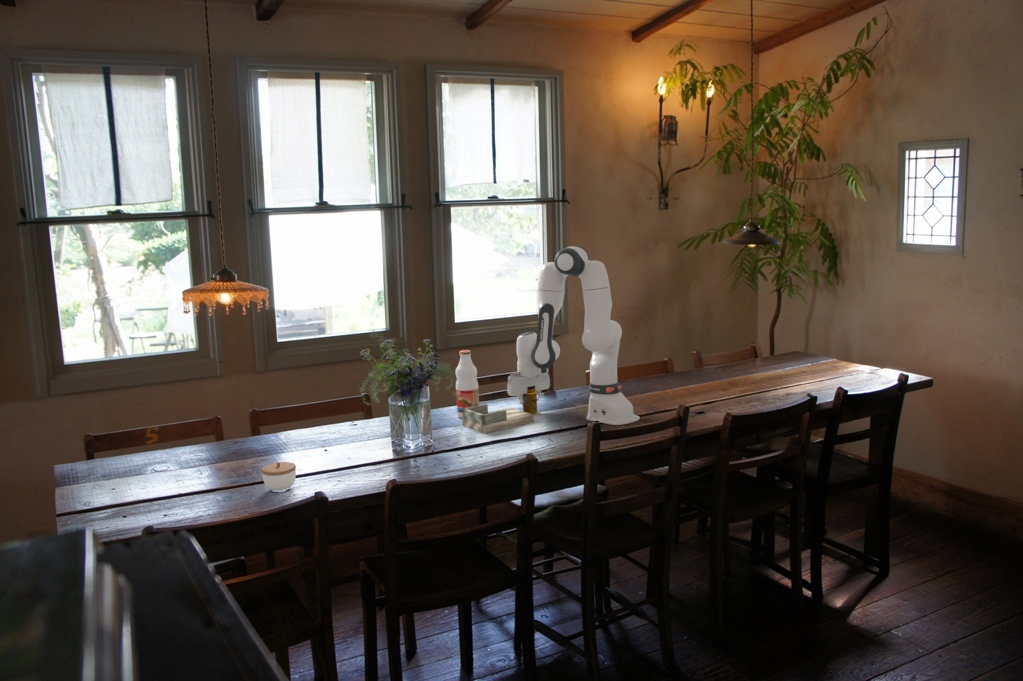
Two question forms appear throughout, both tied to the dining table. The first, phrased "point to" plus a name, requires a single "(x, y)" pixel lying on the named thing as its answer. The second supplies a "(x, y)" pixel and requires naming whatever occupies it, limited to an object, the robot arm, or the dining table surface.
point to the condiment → (530, 401)
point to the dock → (494, 418)
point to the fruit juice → (466, 383)
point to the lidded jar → (279, 475)
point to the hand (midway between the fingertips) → (529, 402)
